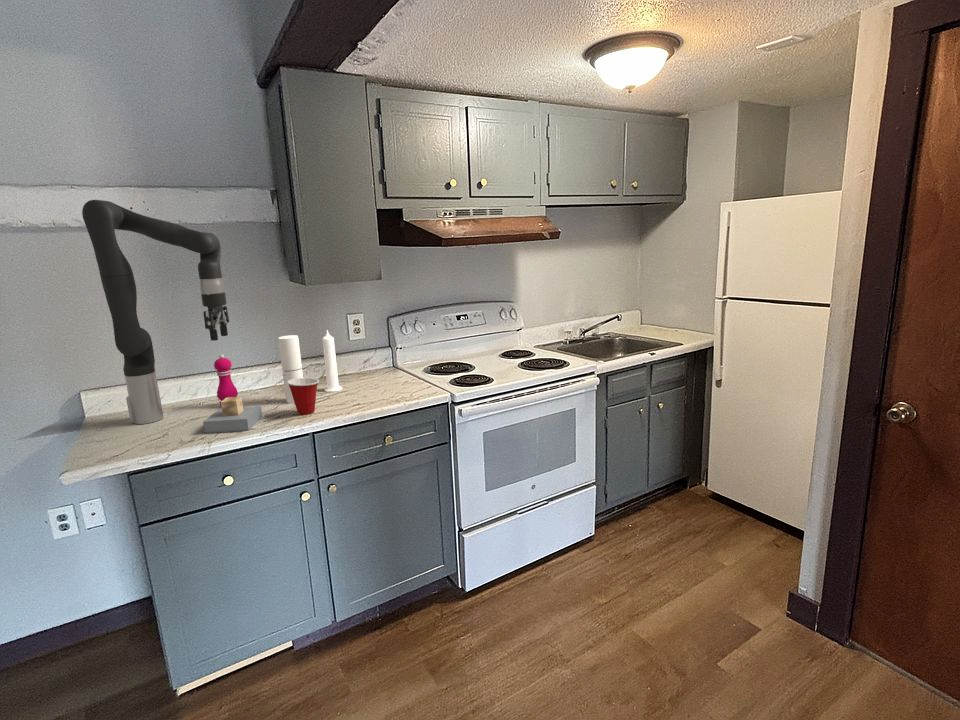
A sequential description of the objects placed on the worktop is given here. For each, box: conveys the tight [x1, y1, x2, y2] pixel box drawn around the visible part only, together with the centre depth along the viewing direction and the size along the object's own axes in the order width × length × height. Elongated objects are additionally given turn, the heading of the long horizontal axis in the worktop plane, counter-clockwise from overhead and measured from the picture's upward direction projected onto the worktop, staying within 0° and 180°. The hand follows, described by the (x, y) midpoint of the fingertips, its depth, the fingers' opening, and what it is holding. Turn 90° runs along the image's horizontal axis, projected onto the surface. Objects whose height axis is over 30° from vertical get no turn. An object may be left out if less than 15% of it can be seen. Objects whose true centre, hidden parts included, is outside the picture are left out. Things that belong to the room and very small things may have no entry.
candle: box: [321, 329, 343, 393], centre depth 217 cm, size 7×7×25 cm
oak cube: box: [220, 396, 244, 416], centre depth 181 cm, size 5×5×5 cm
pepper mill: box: [213, 353, 239, 408], centre depth 202 cm, size 7×7×20 cm
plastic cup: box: [287, 377, 320, 416], centre depth 191 cm, size 11×11×12 cm
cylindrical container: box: [277, 334, 304, 404], centre depth 204 cm, size 7×7×25 cm
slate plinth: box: [202, 405, 263, 434], centre depth 182 cm, size 14×14×4 cm
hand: (219, 338), depth 188 cm, fingers open, 8 cm apart
